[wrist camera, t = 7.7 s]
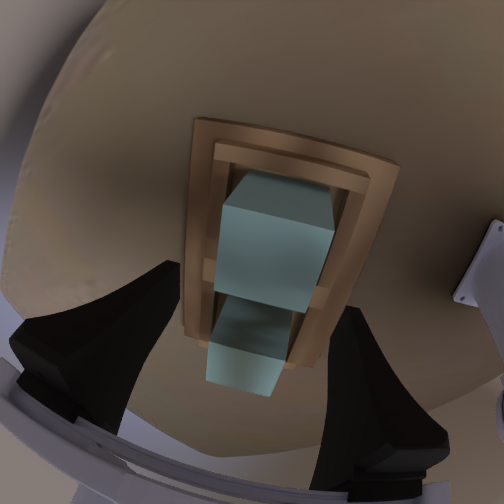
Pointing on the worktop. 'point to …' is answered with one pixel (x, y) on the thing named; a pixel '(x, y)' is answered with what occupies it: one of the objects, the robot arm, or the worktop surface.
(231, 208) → the teal block
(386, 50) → the worktop surface
